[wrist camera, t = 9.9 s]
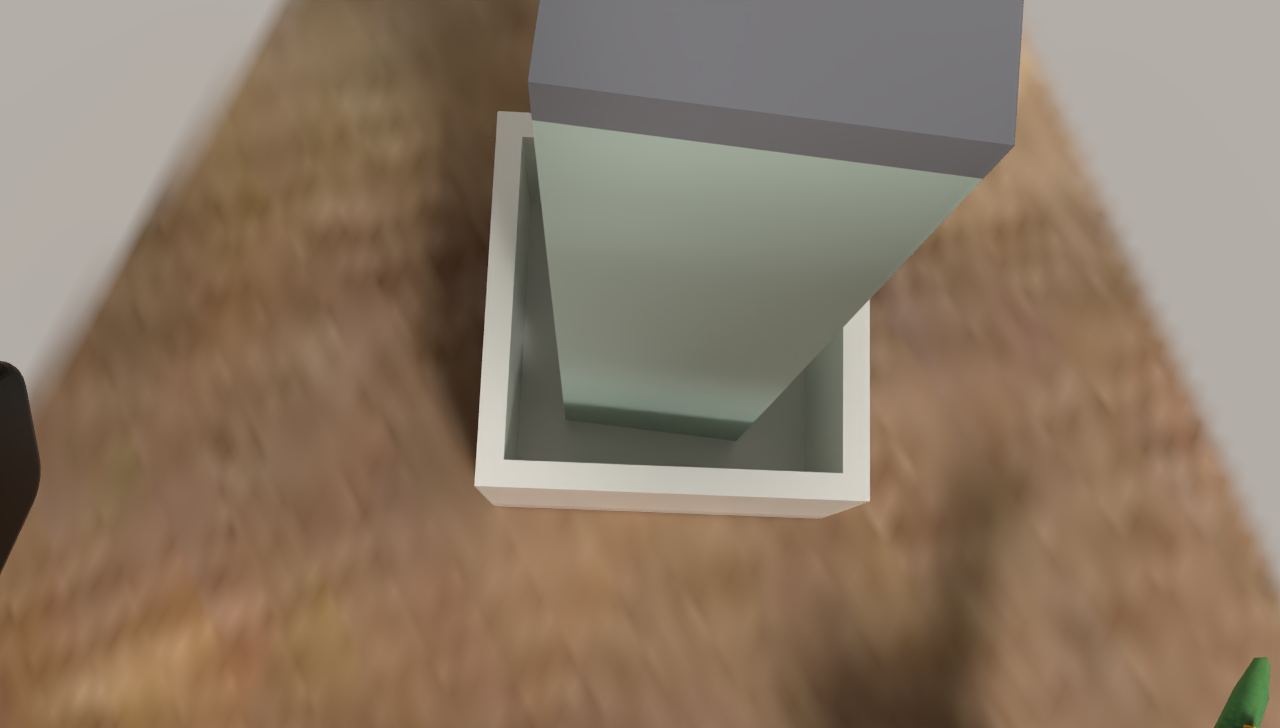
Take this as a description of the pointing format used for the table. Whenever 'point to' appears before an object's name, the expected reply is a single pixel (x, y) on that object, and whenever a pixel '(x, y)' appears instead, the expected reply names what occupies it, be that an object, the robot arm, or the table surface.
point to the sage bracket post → (746, 183)
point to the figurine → (1248, 698)
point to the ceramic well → (636, 458)
